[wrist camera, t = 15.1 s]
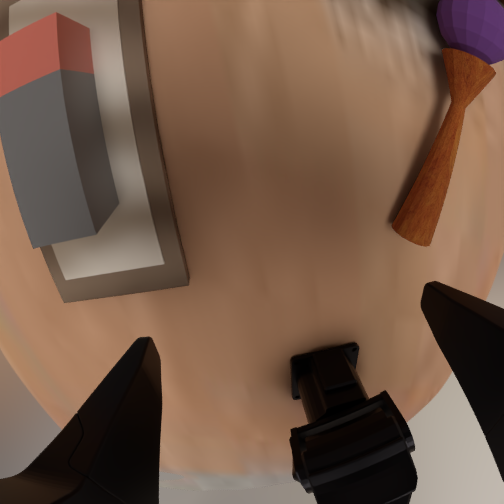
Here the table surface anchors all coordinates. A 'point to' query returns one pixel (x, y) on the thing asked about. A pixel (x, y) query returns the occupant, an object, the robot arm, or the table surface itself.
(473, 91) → the purple maraca
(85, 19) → the board
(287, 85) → the table surface
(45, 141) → the red and gray block
